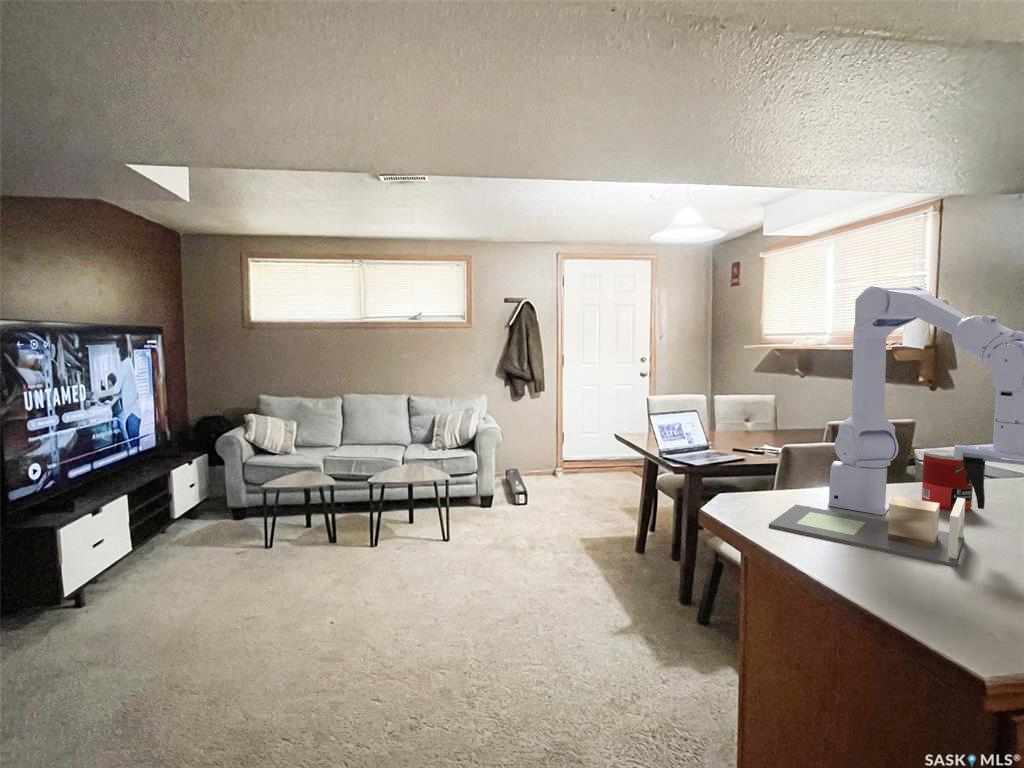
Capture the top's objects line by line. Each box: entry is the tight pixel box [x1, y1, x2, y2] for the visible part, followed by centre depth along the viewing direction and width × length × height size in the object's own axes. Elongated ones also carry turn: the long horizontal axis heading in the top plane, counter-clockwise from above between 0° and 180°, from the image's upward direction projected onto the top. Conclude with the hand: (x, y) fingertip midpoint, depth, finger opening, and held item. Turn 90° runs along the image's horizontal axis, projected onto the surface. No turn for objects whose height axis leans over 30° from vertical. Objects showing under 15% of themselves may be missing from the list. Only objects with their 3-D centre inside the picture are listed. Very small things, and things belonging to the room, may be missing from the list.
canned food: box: [921, 449, 974, 512], centre depth 107 cm, size 8×8×11 cm
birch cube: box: [887, 495, 940, 549], centre depth 88 cm, size 6×6×6 cm
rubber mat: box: [768, 504, 965, 568], centre depth 93 cm, size 26×16×1 cm, turn 46°
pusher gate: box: [948, 498, 966, 558], centre depth 84 cm, size 1×13×6 cm, turn 136°
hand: (1015, 512), depth 79 cm, fingers open, 7 cm apart
